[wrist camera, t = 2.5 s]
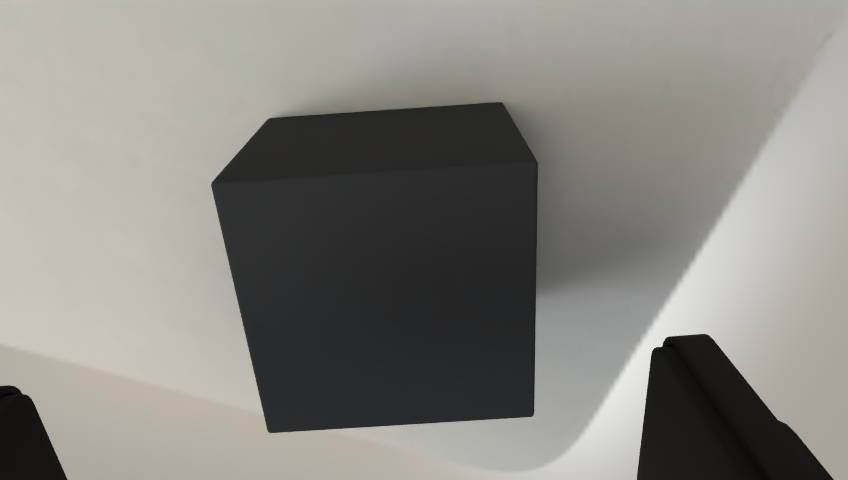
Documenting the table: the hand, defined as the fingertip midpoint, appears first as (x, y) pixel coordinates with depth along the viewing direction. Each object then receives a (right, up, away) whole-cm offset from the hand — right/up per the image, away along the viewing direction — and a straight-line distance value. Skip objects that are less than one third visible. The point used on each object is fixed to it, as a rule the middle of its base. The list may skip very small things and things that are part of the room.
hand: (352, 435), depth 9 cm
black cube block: (0, +4, +8) cm, 9 cm away
